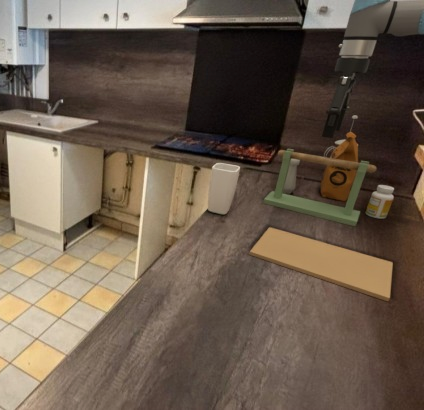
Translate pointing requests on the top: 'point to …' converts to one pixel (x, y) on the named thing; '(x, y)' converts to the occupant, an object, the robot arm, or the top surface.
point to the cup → (222, 187)
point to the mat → (326, 262)
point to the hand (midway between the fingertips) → (330, 133)
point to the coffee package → (340, 171)
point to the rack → (315, 207)
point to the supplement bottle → (380, 202)
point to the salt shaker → (291, 177)
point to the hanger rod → (327, 161)
